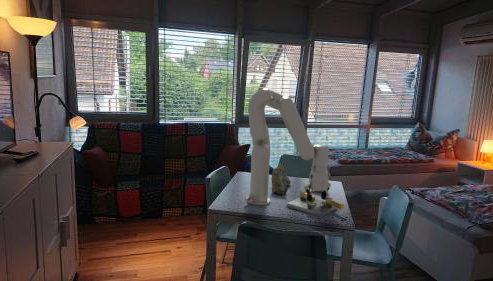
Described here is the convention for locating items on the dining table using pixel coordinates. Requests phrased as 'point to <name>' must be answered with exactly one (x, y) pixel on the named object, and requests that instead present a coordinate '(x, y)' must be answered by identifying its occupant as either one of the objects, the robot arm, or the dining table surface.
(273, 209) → the dining table surface
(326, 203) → the knob
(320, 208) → the levelling base
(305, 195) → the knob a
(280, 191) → the rock
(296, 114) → the robot arm
